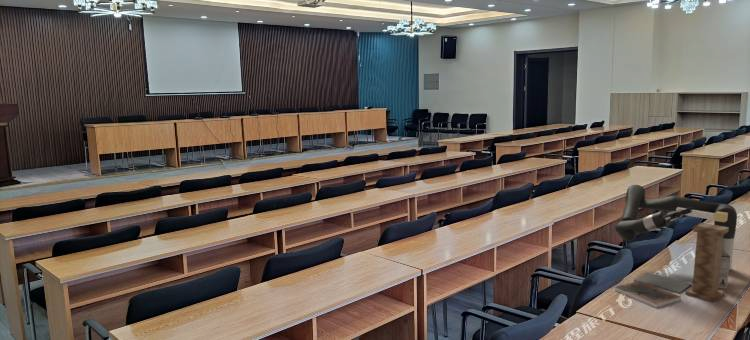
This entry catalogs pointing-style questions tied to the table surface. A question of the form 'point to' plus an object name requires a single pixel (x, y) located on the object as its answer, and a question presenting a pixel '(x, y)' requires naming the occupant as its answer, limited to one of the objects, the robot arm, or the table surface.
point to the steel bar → (707, 215)
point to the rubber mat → (663, 282)
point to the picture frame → (647, 293)
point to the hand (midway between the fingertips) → (691, 209)
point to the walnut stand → (707, 262)
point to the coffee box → (724, 270)
